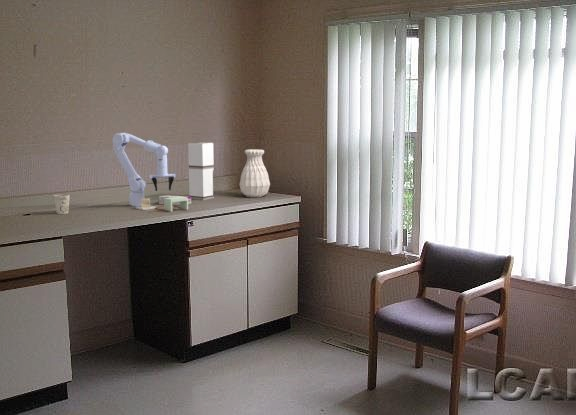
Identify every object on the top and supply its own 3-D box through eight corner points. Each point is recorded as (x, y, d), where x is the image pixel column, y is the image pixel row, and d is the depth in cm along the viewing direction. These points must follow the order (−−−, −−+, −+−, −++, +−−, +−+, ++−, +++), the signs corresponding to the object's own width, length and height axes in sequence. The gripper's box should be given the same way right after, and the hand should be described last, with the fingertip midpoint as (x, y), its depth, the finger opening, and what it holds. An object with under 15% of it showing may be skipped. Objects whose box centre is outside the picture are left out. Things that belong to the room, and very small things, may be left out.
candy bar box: (191, 204, 393) (165, 203, 396) (191, 196, 392) (166, 195, 396) (184, 205, 382) (158, 204, 385) (184, 197, 381) (158, 196, 385)
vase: (235, 198, 418) (234, 150, 413) (244, 193, 437) (243, 148, 432) (265, 199, 413) (265, 151, 409) (273, 194, 433) (273, 149, 428)
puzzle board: (133, 209, 371) (133, 207, 370) (167, 205, 385) (166, 203, 385) (154, 215, 354) (153, 212, 353) (188, 210, 368) (188, 208, 368)
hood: (164, 210, 363) (164, 198, 362) (181, 208, 371) (181, 196, 370) (171, 211, 358) (170, 199, 357) (188, 209, 365) (188, 197, 364)
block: (142, 207, 372) (141, 198, 371) (150, 207, 372) (149, 198, 371) (141, 208, 367) (141, 199, 366) (149, 208, 368) (149, 199, 367)
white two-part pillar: (214, 198, 417) (213, 142, 412) (203, 200, 408) (202, 143, 403) (200, 196, 423) (199, 142, 418) (189, 198, 415) (188, 143, 409)
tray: (136, 208, 370) (136, 206, 370) (148, 207, 375) (148, 205, 375) (143, 210, 364) (143, 208, 364) (155, 208, 369) (155, 206, 369)
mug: (55, 214, 354) (54, 196, 352) (52, 211, 365) (51, 193, 363) (71, 213, 358) (70, 195, 356) (67, 210, 369) (67, 192, 367)
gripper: (173, 165, 382) (174, 189, 384) (148, 166, 377) (149, 190, 379) (175, 166, 375) (176, 190, 377) (150, 167, 370) (151, 191, 373)
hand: (163, 190), depth 378 cm, fingers open, 7 cm apart
